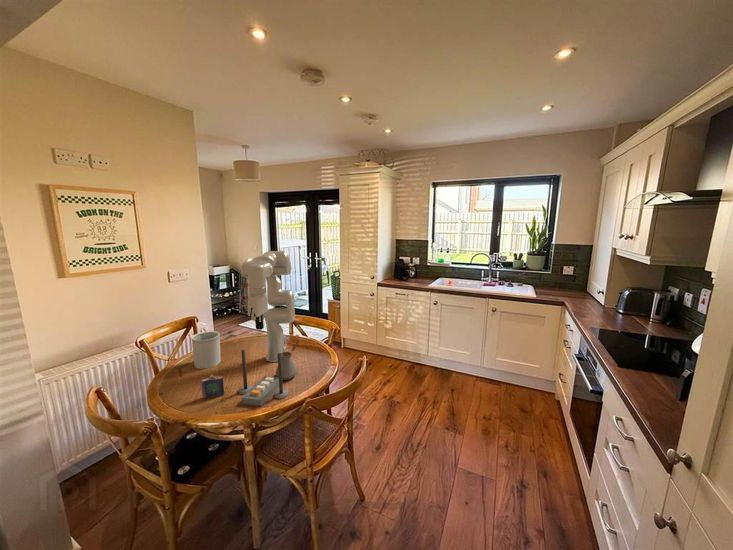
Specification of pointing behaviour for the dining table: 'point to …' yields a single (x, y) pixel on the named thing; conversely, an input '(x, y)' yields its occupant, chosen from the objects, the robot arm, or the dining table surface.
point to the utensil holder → (206, 349)
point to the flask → (212, 387)
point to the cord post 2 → (280, 382)
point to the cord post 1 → (244, 376)
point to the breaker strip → (261, 391)
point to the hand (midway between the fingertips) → (259, 328)
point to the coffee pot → (287, 365)
